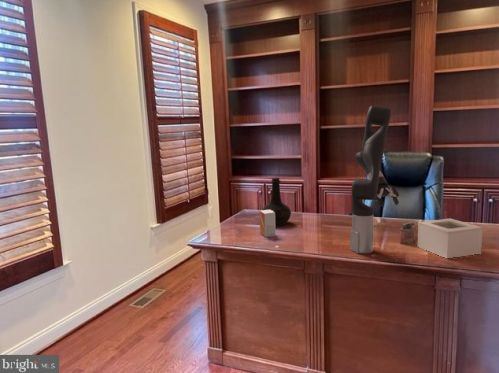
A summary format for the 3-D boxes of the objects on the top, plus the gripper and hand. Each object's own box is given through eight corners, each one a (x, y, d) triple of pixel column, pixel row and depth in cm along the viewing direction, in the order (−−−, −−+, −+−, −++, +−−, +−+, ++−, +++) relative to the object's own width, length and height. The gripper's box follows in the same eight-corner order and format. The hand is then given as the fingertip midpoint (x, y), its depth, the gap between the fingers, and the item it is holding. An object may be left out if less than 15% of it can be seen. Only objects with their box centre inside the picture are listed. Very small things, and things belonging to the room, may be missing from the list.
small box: (260, 233, 211) (259, 210, 209) (270, 232, 213) (270, 209, 211) (264, 237, 203) (264, 213, 201) (276, 235, 205) (275, 212, 203)
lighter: (402, 244, 182) (403, 224, 181) (398, 242, 186) (398, 223, 184) (416, 243, 185) (417, 222, 183) (412, 241, 188) (412, 221, 186)
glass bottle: (258, 227, 224) (256, 180, 220) (265, 219, 241) (264, 175, 237) (287, 228, 219) (286, 180, 215) (293, 220, 236) (292, 176, 232)
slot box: (446, 259, 161) (448, 231, 160) (417, 247, 178) (418, 222, 177) (481, 254, 166) (482, 227, 164) (449, 242, 183) (450, 218, 181)
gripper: (368, 176, 200) (381, 202, 191) (391, 174, 204) (405, 199, 195) (362, 185, 206) (375, 210, 197) (385, 183, 210) (398, 207, 201)
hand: (390, 205), depth 196 cm, fingers open, 8 cm apart
